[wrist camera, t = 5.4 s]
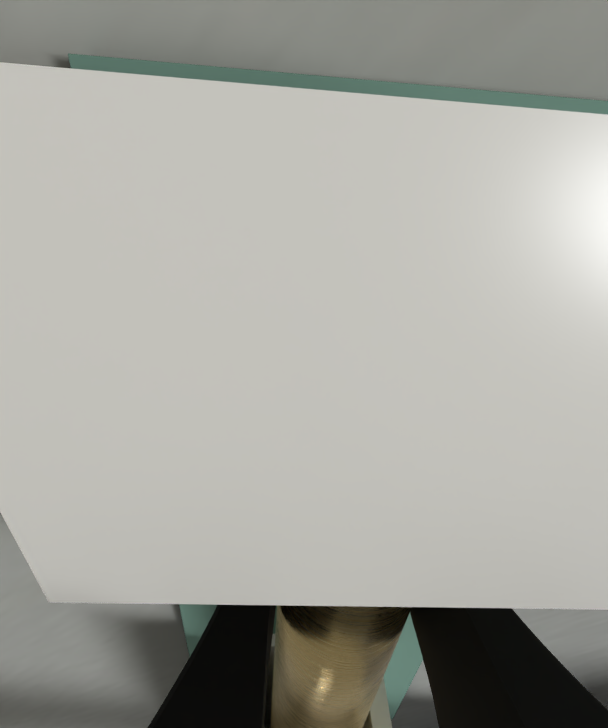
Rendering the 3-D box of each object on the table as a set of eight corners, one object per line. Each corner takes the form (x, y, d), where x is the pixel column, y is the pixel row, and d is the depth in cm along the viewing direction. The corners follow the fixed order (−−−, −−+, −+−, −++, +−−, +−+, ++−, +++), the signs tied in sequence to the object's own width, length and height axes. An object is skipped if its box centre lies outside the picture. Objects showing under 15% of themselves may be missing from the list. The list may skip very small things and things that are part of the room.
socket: (516, 369, 10) (766, 611, 5) (186, 353, 9) (49, 601, 4) (604, 162, 7) (1354, 179, 2) (160, 127, 7) (-254, 41, 2)
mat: (390, 706, 24) (392, 719, 23) (204, 707, 23) (202, 719, 22) (674, 112, 8) (702, 109, 7) (84, 61, 7) (68, 53, 6)
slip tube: (344, 689, 18) (355, 806, 15) (269, 689, 18) (264, 807, 15) (463, 288, 8) (585, 386, 5) (288, 279, 8) (283, 373, 4)
